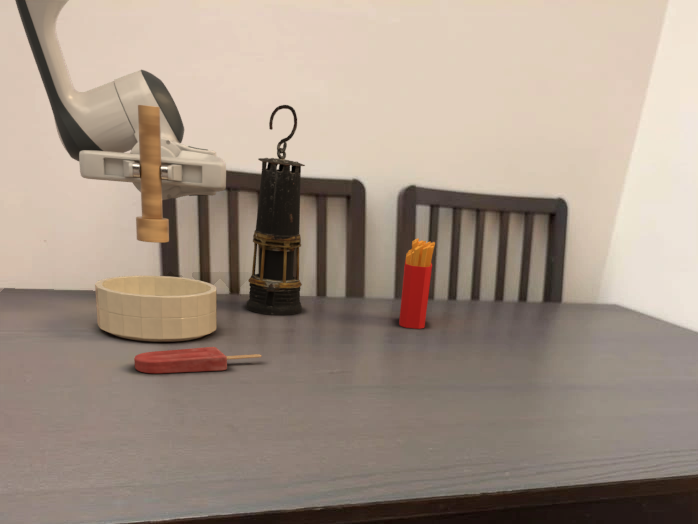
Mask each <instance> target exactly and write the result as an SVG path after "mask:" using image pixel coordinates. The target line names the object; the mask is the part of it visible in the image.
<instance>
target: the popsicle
mask: <svg viewBox="0 0 698 524" xmlns="http://www.w3.org/2000/svg"><path fill="white" fill-rule="evenodd" d="M262 357H263V356H262V354H259V353H256V354H255V353H254V354H240V355H238V354H237V355H225V353H223V352H222V351H221V350H220V349H219V348H218V347H216V346H207V347H206V346H205V347H192V348H182V349H170V350H169V349H168V350H156V351H148V352H146V351H145V352H141V353H138V354H136V355H135V356H134V358H133V360H134V361H133V362H134V369H135V370H136V371H138V372H141V373H145V374H158V375H159V374H175V373H178V374H179V373H196V372H220V371H227V370H228V361H229V360H243V359H257V358H258V359H259V358H262Z"/></svg>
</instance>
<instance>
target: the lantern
mask: <svg viewBox="0 0 698 524" xmlns="http://www.w3.org/2000/svg"><path fill="white" fill-rule="evenodd" d="M284 109H285V110H289V111H290V113H292V116H293V128H292V129H291V132H290V133H289V134H288V135H287V137H283V138H282V139H281V140H280V141H278V143H277V145H276V156H277V158H276V157H275V158H274V157H270V158H269V157H263V158H262V157H260V158H259V157H258V158H257V160H258V161H260V162H261V174H260V183H259V185H260V187H259V196H258V206H257V215H256V222H255V230H254V231H253V232H254V233H253V235H252V243H253V258H252V269H251V275H250V277H249V279H248V280H247V282H248V283H249V285H248V286H249V293H248V294H249V298H248V300H247V301H246V306H245V307H246V309H247V310H249V311H250V312H254V313H258V314H261V315H262V314H263V315H273V316H290V315H296V314H297V315H298V314H300V313H301V312H302V311H303V310H302V309H303V308H302V303H301V287H302V285H303V284H302V282H301V280H300V248H301V247H302V240H301V239H302V238H301V234H300V227H301V226H300V224H301V223H300V221H301V220H300V219H301V178H302V177H301V176H302V175H301V174H302V167H306V165H305V164H303V163H301V162H299V161H294V160H290V159H286V158H287V152H286V150H287V147H288V144H287V142H289V141H290V140H291V139H292V138H293V137H294V135H295V133H296V131H297V127H298V116H297V112H296V109H295V108H293V107H292V106H291V105H288V104H280V105H279V106H277V107H275V108H274V110H273V111H272V112H271V114H270V117H269V122H268V124H269V126H268V127H269V131H270V130H271V131H272V130H273V123H274V118H275V115H276V114H277V113H278V111H280V110H284ZM282 144H283V145H282ZM281 146H282V147H281ZM258 248H259V249H258ZM295 250H296V270H295V271H296V273H295V276H294V266H295V265H294V263H295ZM257 255H258V273H256V265H257Z"/></svg>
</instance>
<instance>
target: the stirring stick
mask: <svg viewBox="0 0 698 524" xmlns="http://www.w3.org/2000/svg"><path fill="white" fill-rule="evenodd" d="M138 124H139V151H140V176H141V178H140V179H141V192H140V202H141V216H140V215H139V216H136V217H135V229H136V230H135V231H136V240H137V241H139V242H145V243H154V244H155V243H157V244H158V243H159V244H160V243H169V242H170V222H169V221H170V219H169V218H166V217H164V213H163V200H162V179H161V173H162V172H161V131H160V107H155V106H146V105H138Z"/></svg>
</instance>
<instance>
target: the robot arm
mask: <svg viewBox="0 0 698 524" xmlns="http://www.w3.org/2000/svg"><path fill="white" fill-rule="evenodd" d="M14 1H15V4H16V8H17V11H18V15H19V17H20V21H21V24H22V27H23V29H24V32H25V37H26V38H27V41H28V44H29V45H28V46H30V50H31V53H32V56H33V58H34V62H35V65H36V67H37V70H38V73H39V75H40V79H41V82H42V84H43V87H44V90H45V92H46V96H47V98H48V102H49V105H50V109H51V111H52V114H53V119H54V123H55V129H56V132H57V135H58V138H59V141H60V143H61V145H62V147H63V148H64V149H65V151H66V153H68V155H69V157H70V158H71V159H72V160H74V161H77V162H78V163H79V172H80V176H81V177H82V178H83V179H87V180H96V181H97V180H98V181H110V182H120V183H122V182H123V183H132V185H133V186H134V188H135V189H136V190H137V191H139V192H140V193H141V179H140V178H141V176H140V151H139V124H138V105H146V106H155V107H160V131H161V172H162V173H161V179H162V201H166V200H170V199H178V198H182V197H187V196H189V197H192V196H193V197H195V196H200V197H201V196H202V197H208V196H210V197H211V196H212V197H213V196H216V195H217V192H223V191H225V190H226V189H227V163H226V162H225V160H224V159H223V158H221V157H220V156H218V155H217V152H216V151H214V150H209V149H206V148H199V147H194V146H192V145H191V146H190V145H185V144H183V139H184V135H185V126H184V122H183V119H182V117H181V114H180V111H179V109H178V106H177V105H176V102H175V100H174V98H173V96H172V94H171V93H170V91H169V89H168V88H167V86H166V84H165V83H164V82H163V80H161V79H160V78H159V77H158V76H156V75H155V74H153V73H152V72H149V71H147V70H144V69H140V70H137V71H133V72H131V73H128V74H126V75H123V76H121V77H118V78H115V79H114V80H112V81H111V82H110V81H109V82H107V83H105V84H102V85H100V86H97V87H95V88H92V89H89V90H86V91H78V90H76V88H75V87H74V83H73V81H72V78H71V74H70V72H69V68H68V66H67V62H66V59H65V56H64V53H63V50H62V47H61V44H60V40H59V38H58V34H57V21H58V18H59V15H60V14H61V11H62V10H63V8H64V7H65V5H66V4H67V3H68V2H69V1H70V0H14ZM129 151H130V152H129Z"/></svg>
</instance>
